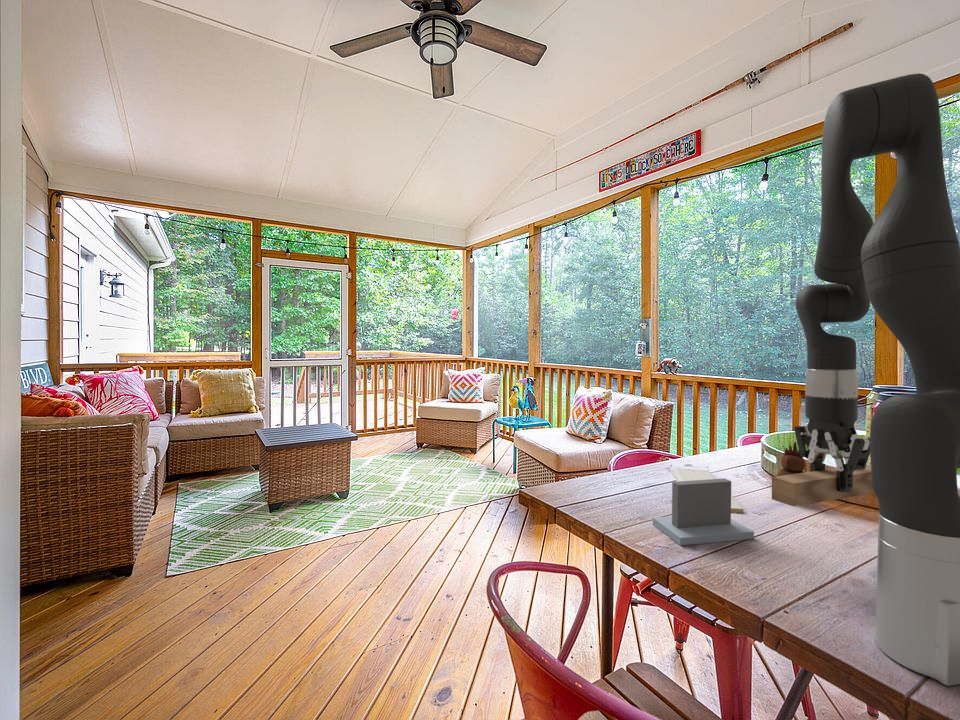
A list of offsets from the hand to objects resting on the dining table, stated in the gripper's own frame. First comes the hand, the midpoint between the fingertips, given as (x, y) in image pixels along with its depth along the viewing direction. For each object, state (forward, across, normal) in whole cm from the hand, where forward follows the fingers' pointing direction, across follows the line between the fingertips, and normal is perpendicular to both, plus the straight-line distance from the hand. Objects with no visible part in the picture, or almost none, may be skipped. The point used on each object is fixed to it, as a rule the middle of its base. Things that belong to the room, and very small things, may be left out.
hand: (830, 486), depth 82 cm
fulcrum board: (+13, +13, +16) cm, 25 cm away
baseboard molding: (+13, +38, +1) cm, 40 cm away
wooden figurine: (+13, +26, -16) cm, 33 cm away
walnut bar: (+2, 0, 0) cm, 2 cm away
